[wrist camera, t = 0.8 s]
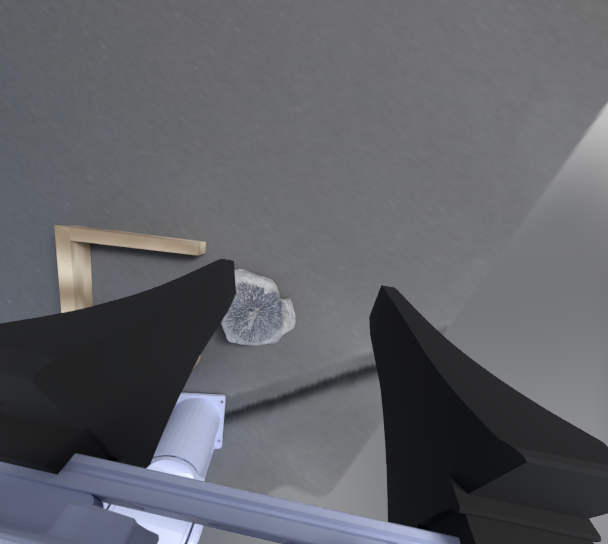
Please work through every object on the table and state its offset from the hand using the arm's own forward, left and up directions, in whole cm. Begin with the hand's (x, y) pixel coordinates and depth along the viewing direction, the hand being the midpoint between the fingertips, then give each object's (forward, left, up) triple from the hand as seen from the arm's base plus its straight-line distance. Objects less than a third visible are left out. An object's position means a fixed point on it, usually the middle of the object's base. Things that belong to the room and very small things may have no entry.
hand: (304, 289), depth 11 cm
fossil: (-9, +4, -20) cm, 22 cm away
